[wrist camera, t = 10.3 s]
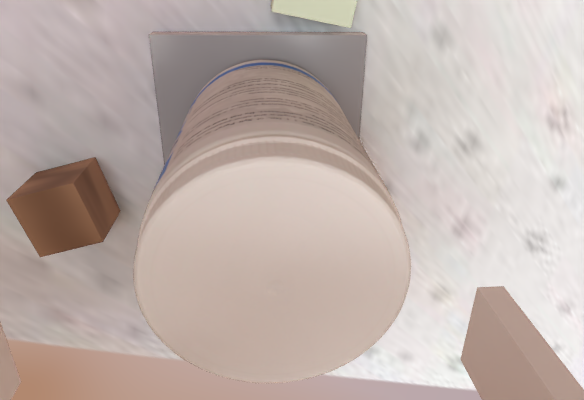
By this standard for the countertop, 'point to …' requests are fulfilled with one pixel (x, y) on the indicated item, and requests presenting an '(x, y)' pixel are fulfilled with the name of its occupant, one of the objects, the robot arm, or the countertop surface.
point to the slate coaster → (247, 47)
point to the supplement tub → (269, 233)
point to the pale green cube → (318, 10)
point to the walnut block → (65, 207)
